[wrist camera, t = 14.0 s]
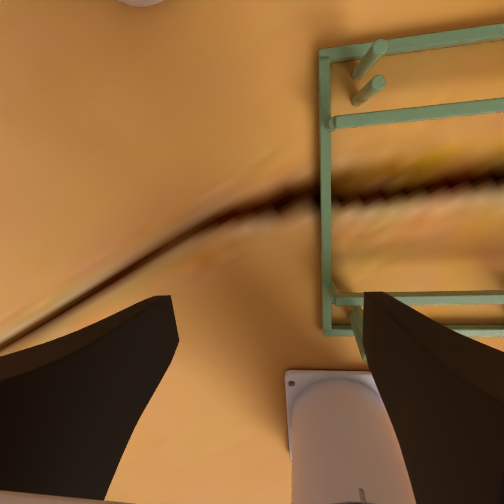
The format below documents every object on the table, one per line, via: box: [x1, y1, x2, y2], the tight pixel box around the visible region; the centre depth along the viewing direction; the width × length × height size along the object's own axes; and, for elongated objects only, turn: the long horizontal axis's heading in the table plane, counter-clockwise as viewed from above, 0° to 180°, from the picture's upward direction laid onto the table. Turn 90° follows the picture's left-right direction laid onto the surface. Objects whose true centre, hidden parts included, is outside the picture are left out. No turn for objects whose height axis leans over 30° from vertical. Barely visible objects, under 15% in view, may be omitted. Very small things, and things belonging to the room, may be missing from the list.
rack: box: [318, 23, 504, 361], centre depth 16 cm, size 18×14×4 cm
